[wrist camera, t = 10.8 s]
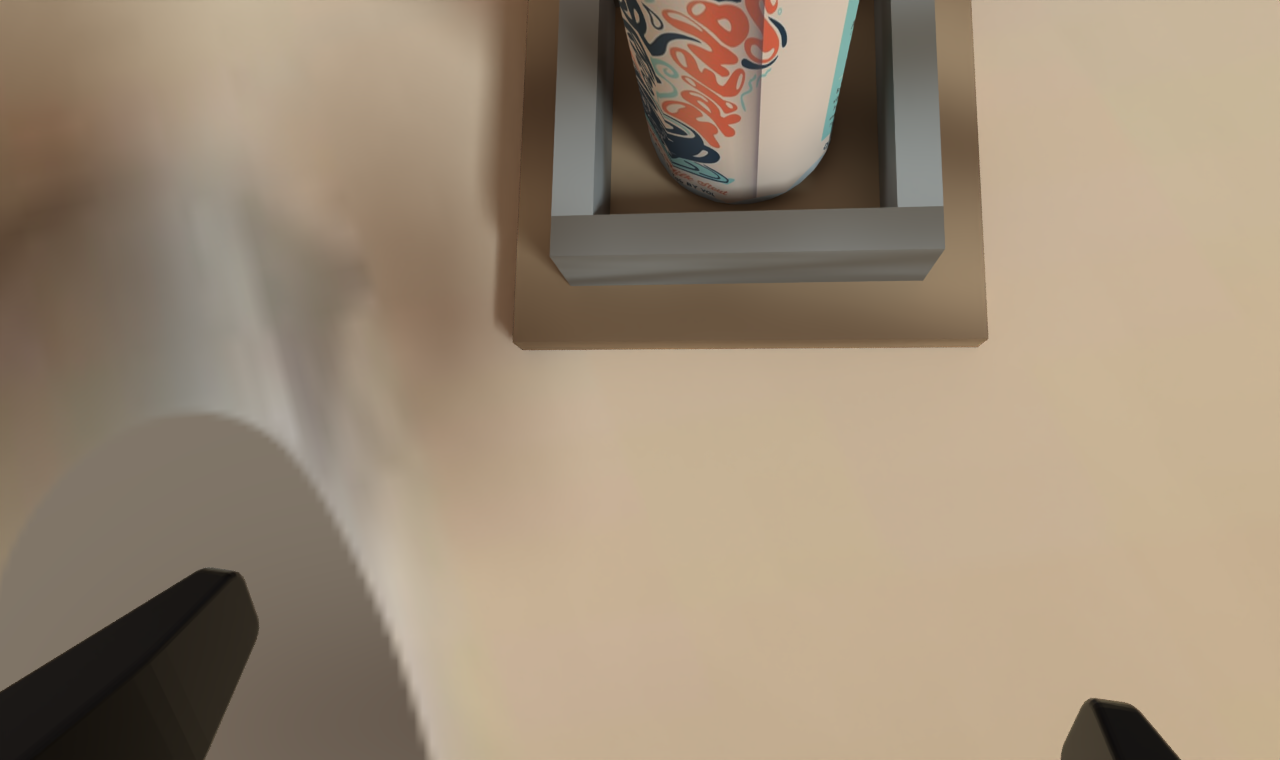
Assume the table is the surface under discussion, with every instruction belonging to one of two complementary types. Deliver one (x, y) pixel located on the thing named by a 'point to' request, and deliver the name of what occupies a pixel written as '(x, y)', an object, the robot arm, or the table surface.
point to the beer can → (739, 89)
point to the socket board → (759, 232)
